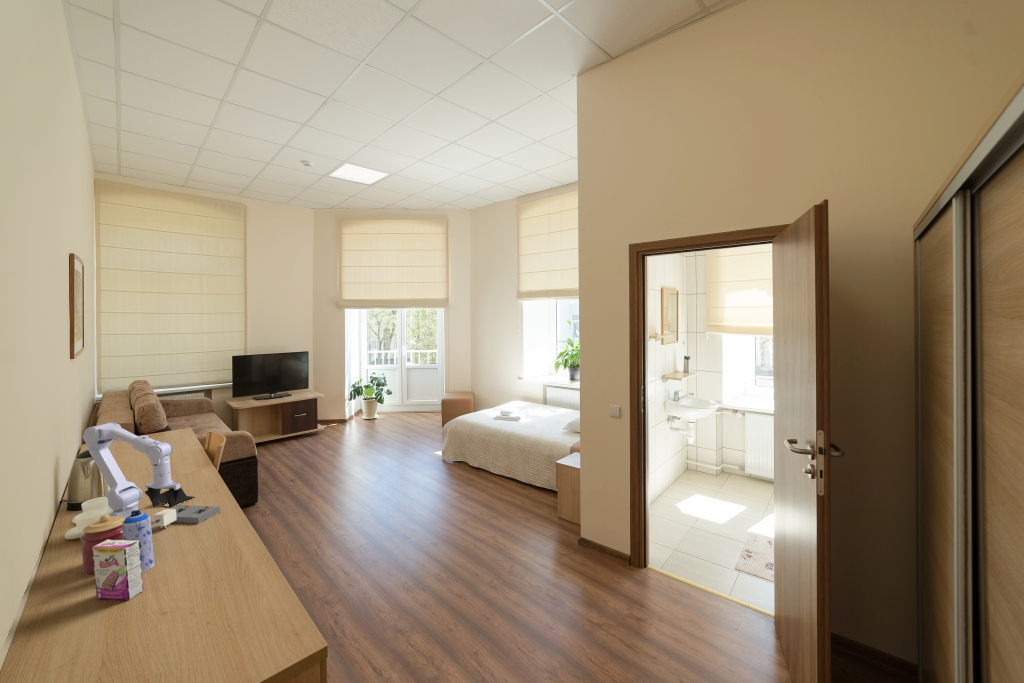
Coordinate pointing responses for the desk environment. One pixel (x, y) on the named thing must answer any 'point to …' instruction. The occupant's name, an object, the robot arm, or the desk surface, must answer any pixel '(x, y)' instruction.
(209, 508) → the socket
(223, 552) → the desk surface
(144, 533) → the aerosol can
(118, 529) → the canister
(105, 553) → the candy bar box
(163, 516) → the plug
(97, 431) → the robot arm
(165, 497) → the black angular piece
